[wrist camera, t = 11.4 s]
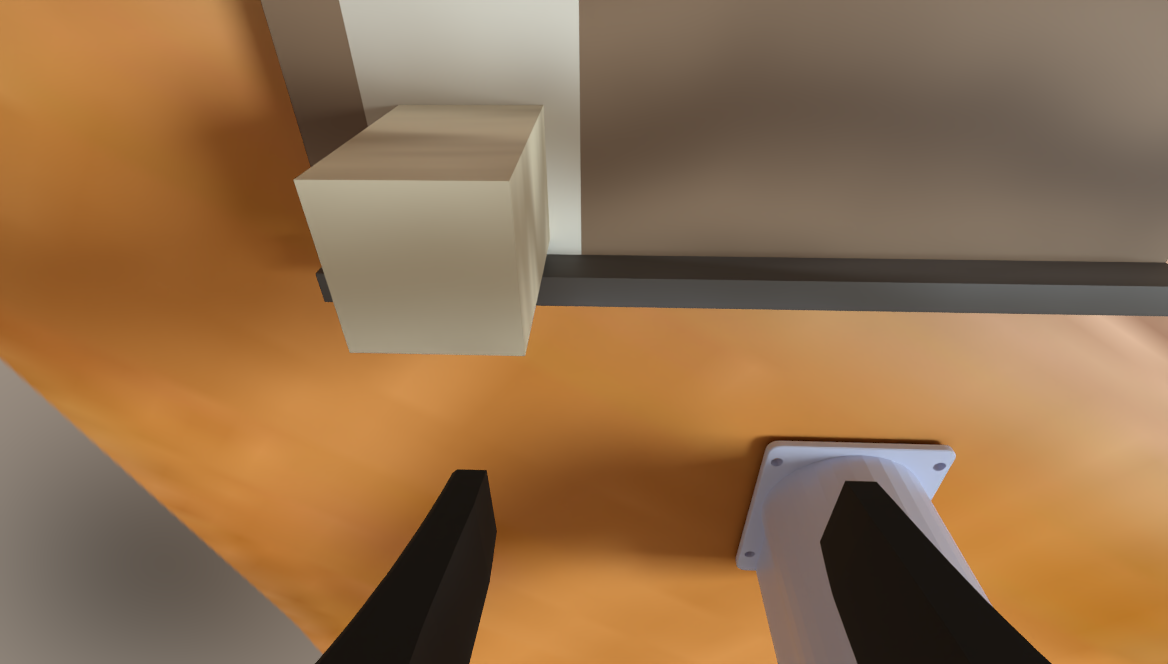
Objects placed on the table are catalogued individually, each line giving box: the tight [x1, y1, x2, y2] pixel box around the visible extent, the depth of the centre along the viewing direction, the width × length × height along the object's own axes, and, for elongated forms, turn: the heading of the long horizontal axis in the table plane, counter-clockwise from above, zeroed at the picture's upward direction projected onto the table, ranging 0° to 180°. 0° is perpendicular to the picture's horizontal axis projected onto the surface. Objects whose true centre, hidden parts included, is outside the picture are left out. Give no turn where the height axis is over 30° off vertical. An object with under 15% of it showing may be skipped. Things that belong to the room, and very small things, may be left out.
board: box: [261, 0, 1168, 316], centre depth 15 cm, size 9×26×3 cm, turn 90°
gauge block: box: [294, 105, 550, 356], centre depth 13 cm, size 4×4×6 cm
